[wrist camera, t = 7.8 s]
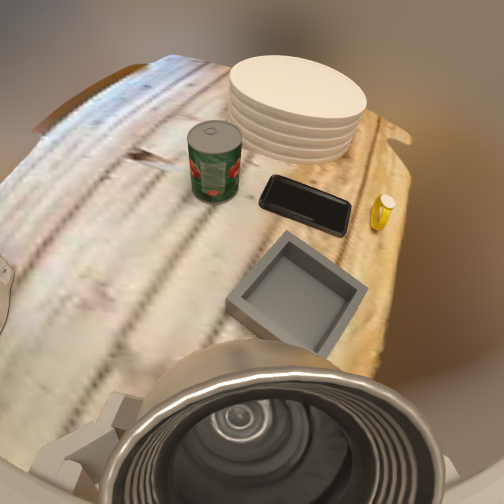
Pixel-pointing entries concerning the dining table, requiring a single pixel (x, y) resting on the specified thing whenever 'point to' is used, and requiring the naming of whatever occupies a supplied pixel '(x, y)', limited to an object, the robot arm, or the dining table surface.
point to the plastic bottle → (273, 435)
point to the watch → (387, 206)
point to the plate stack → (294, 108)
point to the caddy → (296, 297)
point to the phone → (306, 205)
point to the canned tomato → (215, 160)
